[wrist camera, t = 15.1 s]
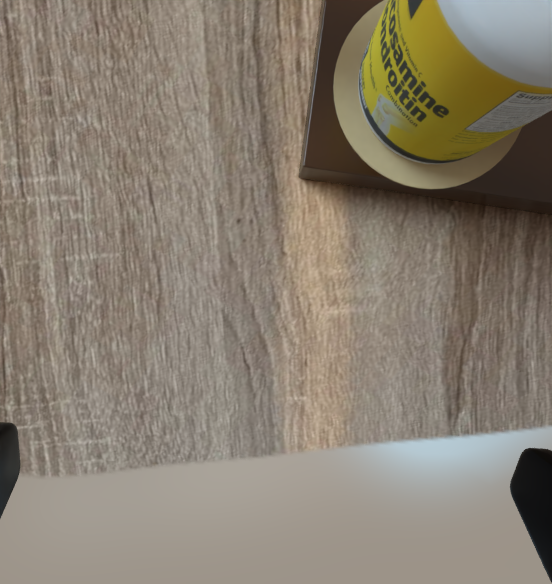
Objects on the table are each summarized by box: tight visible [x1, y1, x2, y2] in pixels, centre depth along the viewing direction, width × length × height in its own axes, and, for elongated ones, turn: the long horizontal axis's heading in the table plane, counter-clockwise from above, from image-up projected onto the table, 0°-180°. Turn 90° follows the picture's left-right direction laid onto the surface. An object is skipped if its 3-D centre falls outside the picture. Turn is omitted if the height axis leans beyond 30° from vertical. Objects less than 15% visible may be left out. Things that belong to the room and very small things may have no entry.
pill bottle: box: [358, 0, 552, 164], centre depth 13 cm, size 6×6×12 cm
